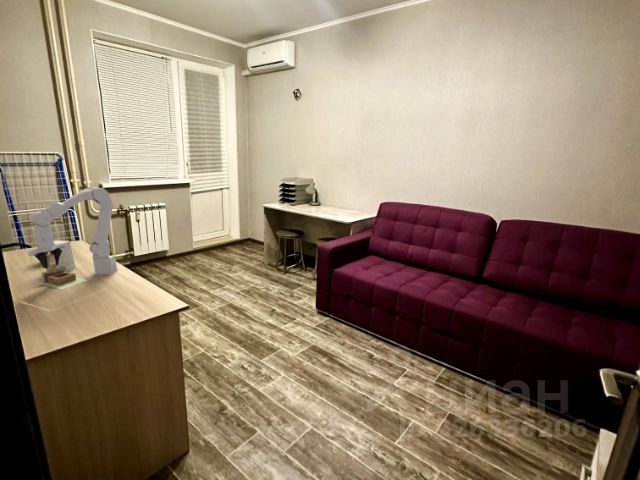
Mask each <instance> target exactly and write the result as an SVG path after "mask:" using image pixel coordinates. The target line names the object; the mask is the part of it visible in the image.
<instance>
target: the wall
mask: <svg viewBox="0 0 640 480" xmlns="http://www.w3.org/2000/svg"><path fill="white" fill-rule="evenodd" d="M63 271H66V272H67V270H66V267H65V266H63V267H60V268H57V272H54V273H47V272H46V271H43V272H41V277H42V279H41V280H42V283H48V282H47V276H50V275H53V274H56V273H60V272H63Z"/></svg>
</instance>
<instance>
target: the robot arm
mask: <svg viewBox="0 0 640 480" xmlns="http://www.w3.org/2000/svg"><path fill="white" fill-rule="evenodd" d="M84 201H95V203H96V204H97V205H98V206H99V212H98V219H97V224H96V229H95V230H96V231H95V237H94V238H93V239H92V242H91V244H90V245H89V251H90V253H92V262H93V268H94V272H93V273H91V275H93V276H94V275H112V274H113V273H114V272H117V271H118V266H117V265H118V264H117V260H116V257H115V256H114V255H110V254H111V248H110V241H109V238H108V237H109V233H110V226H111V219H112V216H113V215H112V214H113V207H114V203H113V201H112V198H111V197H110V193H109V191H107V190H106V189H105V188H102V187H97V186H94V185H92V186H91V185H90V186H88V187H87V188H83V189H82V190H81V191H79V192H78V193H76V194H74V195H73V196H70V198H68V199H65V200H64V201H62V202H59V201H57V202H55V201H53V202H51V204H50V205H48V206H47V207H45V208H41V209H40V211H35V212H33V214H32V215H31V216H30V221H31V222H32V224H33V226H34V231H35V236H36V237H35V238H36V240H37V244H38V246H39V248H38V246H37V248H35V249H32V250H29V251H27V256H28V257H35V258H36V259H37V260H38V261H39V263H40V264H41V266H42V268H43V269H45V270H46V269H47V268H48V265H47V255H45V254H43V253H45V252H49V251H50V253H51V254H54V256H55V261H56V265H59V258H60V255H61V253H62V250H60V248H66V246H65V244H64V243H61V244H56V245H55V244H54V241H55V240H54V235H53V230H52V227H51V223H52V221H54V220H55V219H57V218H60V217H61V216H63V215H64V214H66V213H68V209H69V208H72V207H73V206H75V205H78V204H79V203H81V202H84Z"/></svg>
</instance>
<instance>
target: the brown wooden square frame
mask: <svg viewBox="0 0 640 480" xmlns="http://www.w3.org/2000/svg"><path fill="white" fill-rule="evenodd" d="M76 277H77V275H76V273H74V272H70V271H68V272H66V271H63V272H60V273H56V274H53V275H50V276H47V282H48V283H51V284H55V285H58V286H59V285H62V284H65V283H68V282H71V281H73V280H76Z"/></svg>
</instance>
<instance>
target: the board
mask: <svg viewBox="0 0 640 480" xmlns="http://www.w3.org/2000/svg"><path fill="white" fill-rule="evenodd" d="M84 282H88V279H84V278H81V277H77V276H76V280H73V281H71V282H68V283H65V284H62V285H59V286H58V285H55V284H51V283H43V282H42V283H41V282H40V284H41V285H44V286H48V287H51V288H54V289H58V290H64V289H67V288H70V287H72V286H75V285H78V284H81V283H84Z"/></svg>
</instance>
